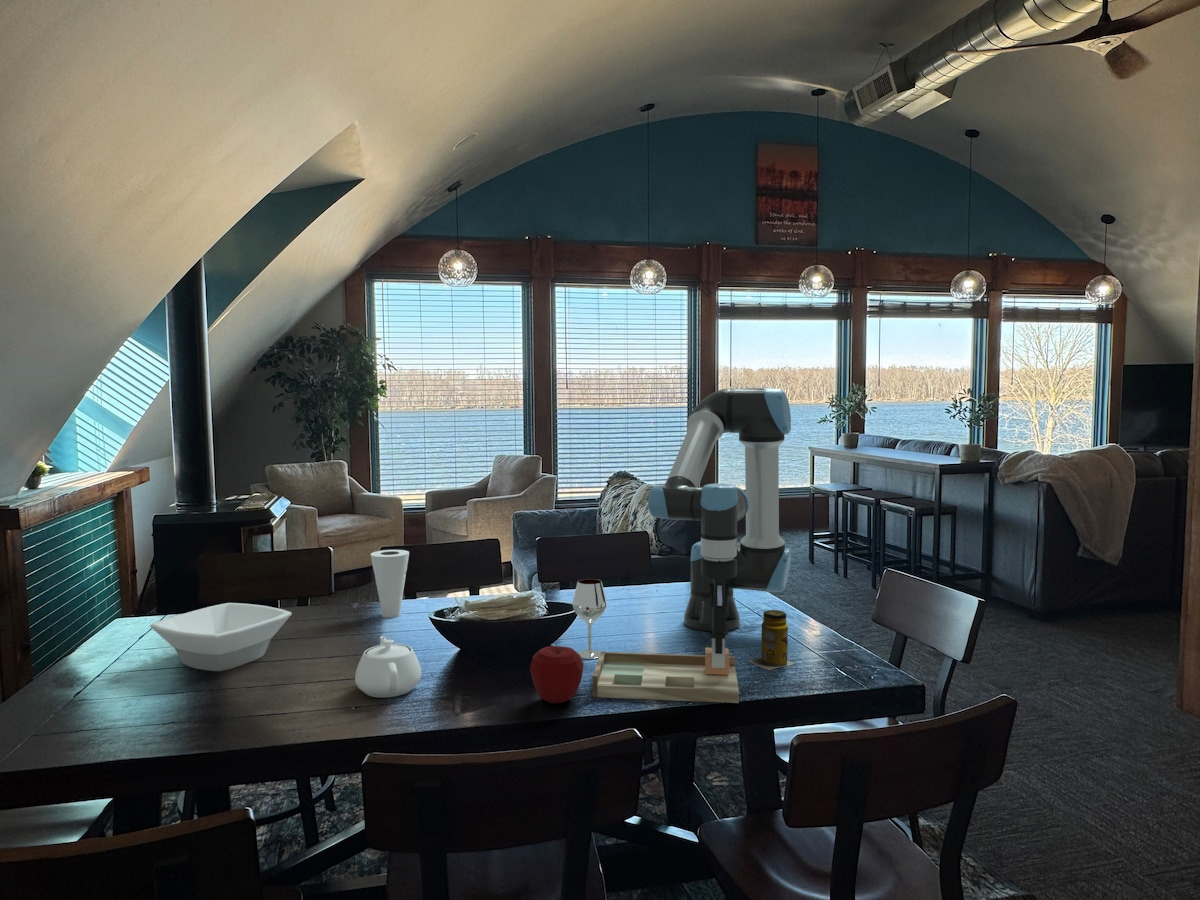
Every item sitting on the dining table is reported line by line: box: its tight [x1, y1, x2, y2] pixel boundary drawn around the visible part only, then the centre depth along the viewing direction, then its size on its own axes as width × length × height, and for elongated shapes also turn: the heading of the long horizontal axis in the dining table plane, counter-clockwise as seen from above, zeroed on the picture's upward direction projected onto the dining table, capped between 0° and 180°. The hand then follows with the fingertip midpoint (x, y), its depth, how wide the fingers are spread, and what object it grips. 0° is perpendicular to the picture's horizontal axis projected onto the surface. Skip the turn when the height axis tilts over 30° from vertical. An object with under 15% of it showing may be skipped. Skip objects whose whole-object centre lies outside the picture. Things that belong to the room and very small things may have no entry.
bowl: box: [150, 602, 292, 672], centre depth 190 cm, size 24×25×10 cm
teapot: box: [354, 635, 422, 699], centre depth 170 cm, size 22×14×11 cm, turn 21°
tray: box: [592, 651, 740, 704], centre depth 172 cm, size 16×30×4 cm, turn 84°
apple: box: [529, 645, 585, 705], centre depth 163 cm, size 11×11×12 cm
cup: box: [370, 549, 410, 619], centre depth 228 cm, size 11×11×18 cm
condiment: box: [747, 609, 796, 671], centre depth 187 cm, size 7×8×12 cm
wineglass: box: [572, 578, 608, 660], centre depth 192 cm, size 8×8×18 cm
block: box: [704, 647, 730, 675], centre depth 174 cm, size 5×5×4 cm
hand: (718, 666), depth 170 cm, fingers closed
